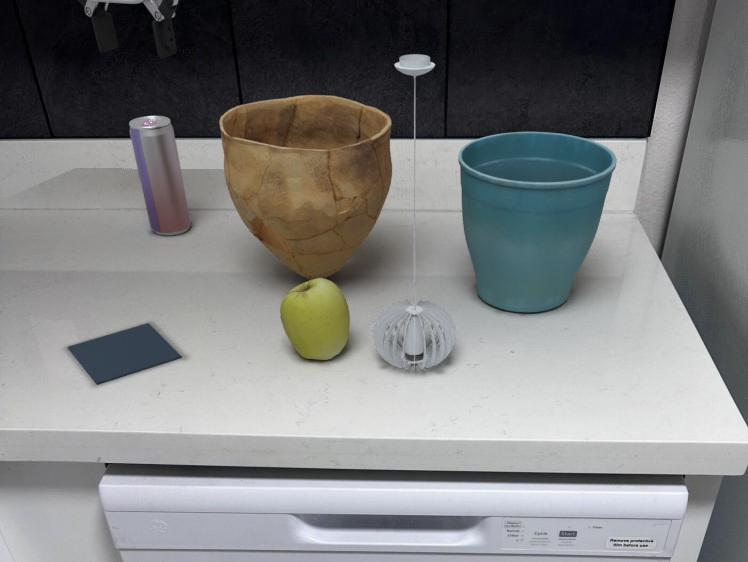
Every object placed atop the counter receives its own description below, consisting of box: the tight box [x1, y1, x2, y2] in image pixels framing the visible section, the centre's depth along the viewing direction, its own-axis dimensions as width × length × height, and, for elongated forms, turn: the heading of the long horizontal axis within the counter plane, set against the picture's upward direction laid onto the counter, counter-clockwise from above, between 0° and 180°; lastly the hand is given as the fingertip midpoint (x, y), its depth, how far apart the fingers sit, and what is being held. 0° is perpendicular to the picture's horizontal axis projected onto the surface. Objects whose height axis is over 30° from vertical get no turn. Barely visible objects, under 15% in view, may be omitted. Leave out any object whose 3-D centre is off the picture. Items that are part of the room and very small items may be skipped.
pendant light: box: [372, 53, 457, 371], centre depth 80 cm, size 9×9×30 cm
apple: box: [279, 276, 351, 361], centre depth 88 cm, size 8×8×10 cm
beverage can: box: [128, 115, 192, 237], centre depth 114 cm, size 6×6×15 cm
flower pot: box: [457, 131, 618, 313], centre depth 96 cm, size 18×18×17 cm
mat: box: [67, 322, 183, 385], centre depth 92 cm, size 10×10×1 cm
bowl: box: [218, 94, 393, 281], centre depth 99 cm, size 21×20×20 cm
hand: (138, 52), depth 104 cm, fingers open, 9 cm apart
